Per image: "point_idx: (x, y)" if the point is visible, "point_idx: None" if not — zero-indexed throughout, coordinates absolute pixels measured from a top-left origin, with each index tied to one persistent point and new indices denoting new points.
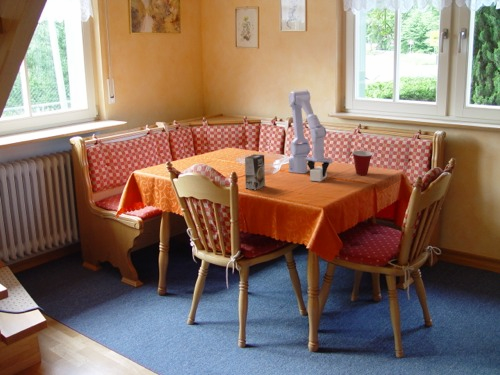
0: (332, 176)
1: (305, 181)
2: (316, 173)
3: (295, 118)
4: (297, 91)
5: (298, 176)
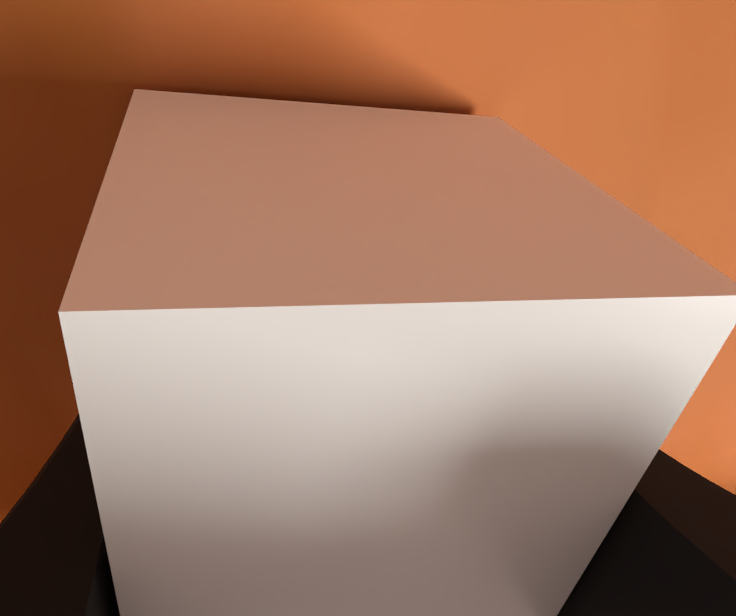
0: None
1: (618, 24)
2: (342, 224)
3: None
4: None
5: (730, 372)
